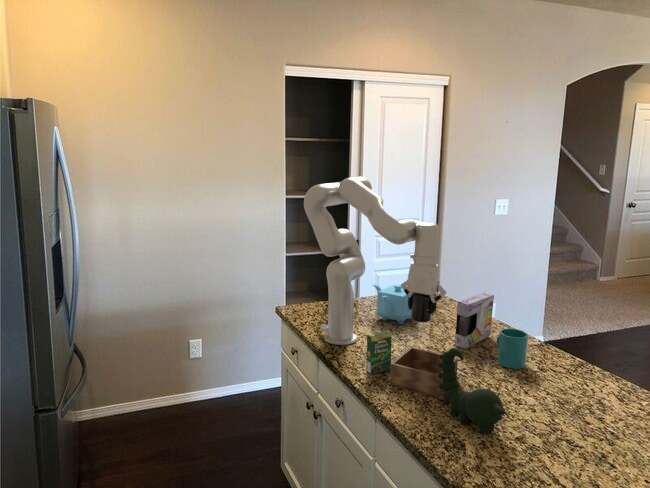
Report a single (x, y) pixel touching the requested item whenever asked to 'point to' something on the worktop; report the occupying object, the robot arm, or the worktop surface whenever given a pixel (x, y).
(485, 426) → the toy figurine
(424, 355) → the walnut crate
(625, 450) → the worktop surface
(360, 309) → the worktop surface
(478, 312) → the cake pan box
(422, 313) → the supplement bottle
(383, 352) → the coffee box
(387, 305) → the teakettle
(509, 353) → the cup
